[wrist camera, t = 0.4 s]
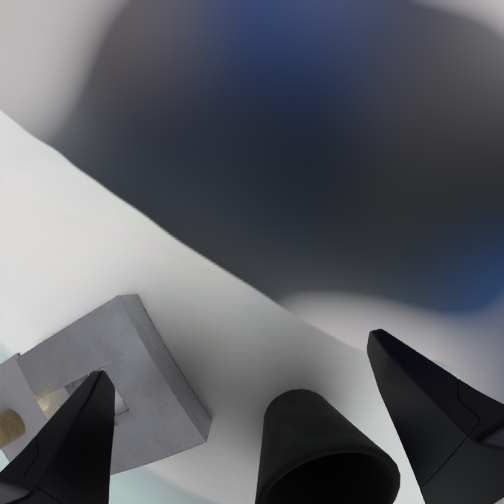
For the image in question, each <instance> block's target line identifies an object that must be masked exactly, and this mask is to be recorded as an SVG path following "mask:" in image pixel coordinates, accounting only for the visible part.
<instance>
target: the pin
mask: <svg viewBox="0 0 504 504" xmlns="http://www.w3.org/2000/svg"><path fill="white" fill-rule="evenodd" d="M24 434H25V425H24V422H23V420H22V418H21V417H20V416H19V414H18V413H17V412H15V411H14V410H12V409H7V410H5V411H3V412H1V413H0V449H2V448H3V447H5V446H7V445H8V444H10V443H12V442H13V441H15V440H16V439H18V438H20V437H21V436H23V435H24Z"/></svg>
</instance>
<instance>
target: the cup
mask: <svg viewBox="0 0 504 504" xmlns="http://www.w3.org/2000/svg"><path fill="white" fill-rule="evenodd" d="M399 488H400V473H399V469H398V466H397V464H396V463H395V462H394V461H393V459H392V458H391V457H390V456H389V455H388V454H387V453H386V452H384V451H383V450H382V449H381V448H380V447H378V446H377V445H376V444H375V443H374V442H373V441H371V440H370V439H369V438H368V437H367V436H366V435H364V434H363V433H362V432H361V431H360V430H359V429H357V428H356V427H355V426H354V425H353V424H352V423H351V422H349V421H348V420H347V419H346V418H345V417H344V416H343V415H342V414H340V413H339V412H338V411H337V410H336V409H335V408H334V407H333V406H331V405H330V404H329V403H328V402H327V401H326V400H325V399H324V398H323V397H321V396H320V395H318V394H317V393H315V392H312V391H310V390H303V389H299V390H292V391H288V392H285V393H283V394H282V395H280V396H278V397H277V398H276V399H275V400H273V401H272V402H271V404H270V405H269V407H268V408H267V410H266V413H265V416H264V426H263V436H262V446H261V455H260V464H259V473H258V482H257V491H256V499H255V504H393V503H394V501H395V499H396V497H397V494H398V491H399Z"/></svg>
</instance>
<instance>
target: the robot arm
mask: <svg viewBox="0 0 504 504" xmlns="http://www.w3.org/2000/svg"><path fill="white" fill-rule="evenodd" d="M367 354H368V357H369V360H370V364H371V367H372V370H373V373H374V376H375V379H376V383H377V386H378V389H379V392H380V394H381V396H382V399H383V401H384V403H385V406H386V408H387V410H388V412H389V415H390V417H391V419H392V422H393V424H394V426H395V429H396V431H397V433H398V436H399V438H400V440H401V443H402V445H403V448H404V450H405V452H406V455H407V457H408V460H409V462H410V465H411V467H412V470H413V472H414V475H415V477H416V480H417V483H418V485H419V488H420V491H421V493H422V496H423V499H424V501H425V504H504V404H502V403H500V402H498V401H496V400H494V399H492V398H490V397H488V396H486V395H485V394H483V393H481V392H479V391H477V390H476V389H474V388H472V387H471V386H469V385H468V384H466V383H464V382H463V381H461V380H460V379H457V377H455V376H454V375H452V374H451V373H449V372H448V371H446V370H444V369H443V368H441V367H440V366H438V365H437V364H435V363H434V362H432V361H431V360H429V359H428V358H426V357H425V356H423V355H422V354H420V353H418V352H417V351H415V350H414V349H412V348H411V347H409V346H408V345H406V344H405V343H403V342H402V341H400V340H398V339H397V338H395V337H394V336H392V335H391V334H389V333H388V332H386V331H384V330H383V329H377V330H373V331H371V332H370V333H369V338H368V344H367ZM114 415H115V388H114V385H113V383H112V381H111V380H110V378H109V377H108V375H107V374H106V372H105V371H104V370H94V371H92V372H91V373H90V374H89V376H88V377H87V378H86V379H85V380H84V381H83V382H82V383H81V384H80V385H79V387H78V388H77V389H76V390H75V391H74V392H73V393H72V394H71V396H70V397H69V398H68V399H67V400H66V401H65V402H64V403H63V405H62V406H61V407H60V408H59V409H58V410H57V411H56V412H55V414H54V415H53V416H52V417H51V418H50V419H49V420H48V422H47V423H46V424H45V425H44V426H43V427H42V428H41V430H40V431H39V432H38V433H37V435H35V437H34V438H33V439H32V440H31V441H30V442H29V443H28V445H27V446H26V447H25V448H24V449H23V450H22V451H21V452H20V453H19V454H18V455H17V456H16V457H15V458H14V459H13V460H12V461H11V462H10V463H9V464H8V465H7V466H6V467H5V468H4V469H3V470H2V471H1V472H0V504H109V485H110V469H111V457H112V446H113V436H114Z"/></svg>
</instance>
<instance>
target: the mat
mask: <svg viewBox="0 0 504 504" xmlns="http://www.w3.org/2000/svg"><path fill="white" fill-rule="evenodd" d="M18 357H20V354H19V353H18V354H16V355H14V356H13V357H11V358H10V359H8V360H7V361H5V362H3V363H2V364H0V413H1V412H3V411H5V410H7V409H12V410H14V411H15V412H17V413H18V414H19V416H20V417H21V418H22V420H23V422H24V425H25V434H24V435H23V436H21V437H20V438H18V439H16V440H15V441H13V442H12V443H10V444H8V445H7V446H5V447H3V448H2V449H1V450H2V451H3V453H4V454H5V456H6V458H7V459H8V461H9V462H11V461H12V460H13V459H14V458H15V457H16V456H17V455H18V454H19V453H20V452H21V451H22V450H23V449H24V448H25V447H26V446H27V445H28V443H29V442H30V441H31V440H32V439H33V438H34V437H35V435H37V433H38V432H39V431H40V430H41V428H42V427H43V426H44V425H45V424H46V423H47V422H48V419H47V418H46V416H45V414H44V412H43V411H42V409H41V407H40V406H39V404H38V402H37V400H36V398H35V397H34V395H33V393H32V391H31V389H30V387H29V385H28V383H27V381H26V379H25V377H24V375H23V373H22V371H21V369H20V367H19V365H18V363H17V361H16V358H18Z"/></svg>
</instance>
